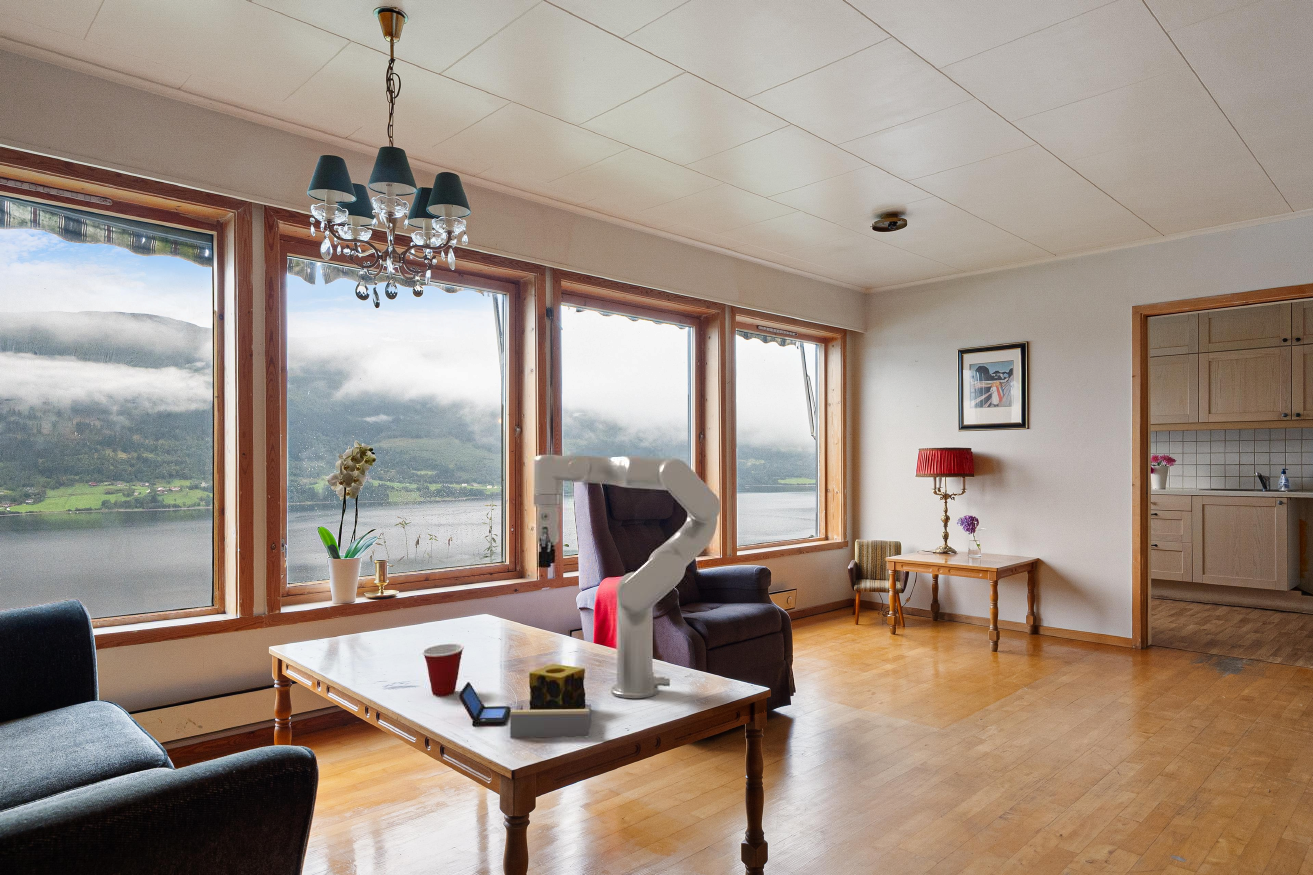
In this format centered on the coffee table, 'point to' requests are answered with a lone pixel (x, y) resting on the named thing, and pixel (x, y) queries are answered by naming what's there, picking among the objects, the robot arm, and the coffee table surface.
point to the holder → (550, 722)
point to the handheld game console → (482, 709)
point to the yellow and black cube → (557, 688)
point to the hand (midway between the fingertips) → (546, 565)
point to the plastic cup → (443, 667)
